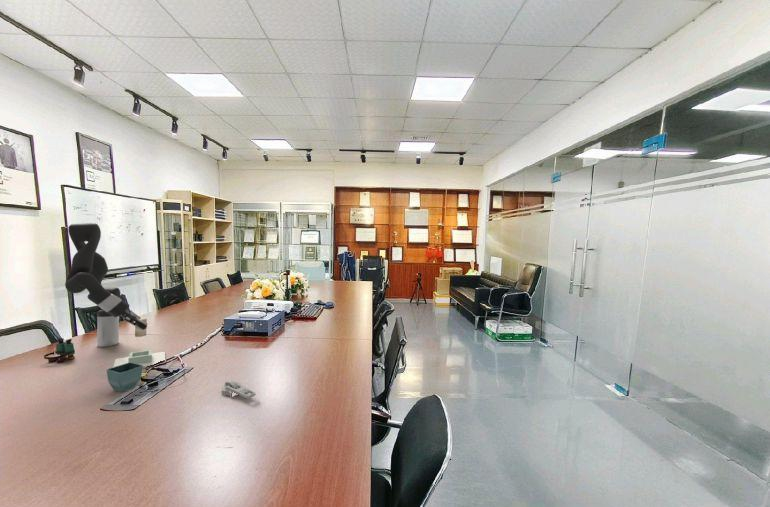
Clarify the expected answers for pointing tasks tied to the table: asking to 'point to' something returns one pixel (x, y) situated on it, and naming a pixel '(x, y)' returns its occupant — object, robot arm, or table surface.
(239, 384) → the zipper pull
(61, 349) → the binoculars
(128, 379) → the flower pot
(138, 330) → the beige upright block
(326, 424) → the table surface
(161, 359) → the holder
